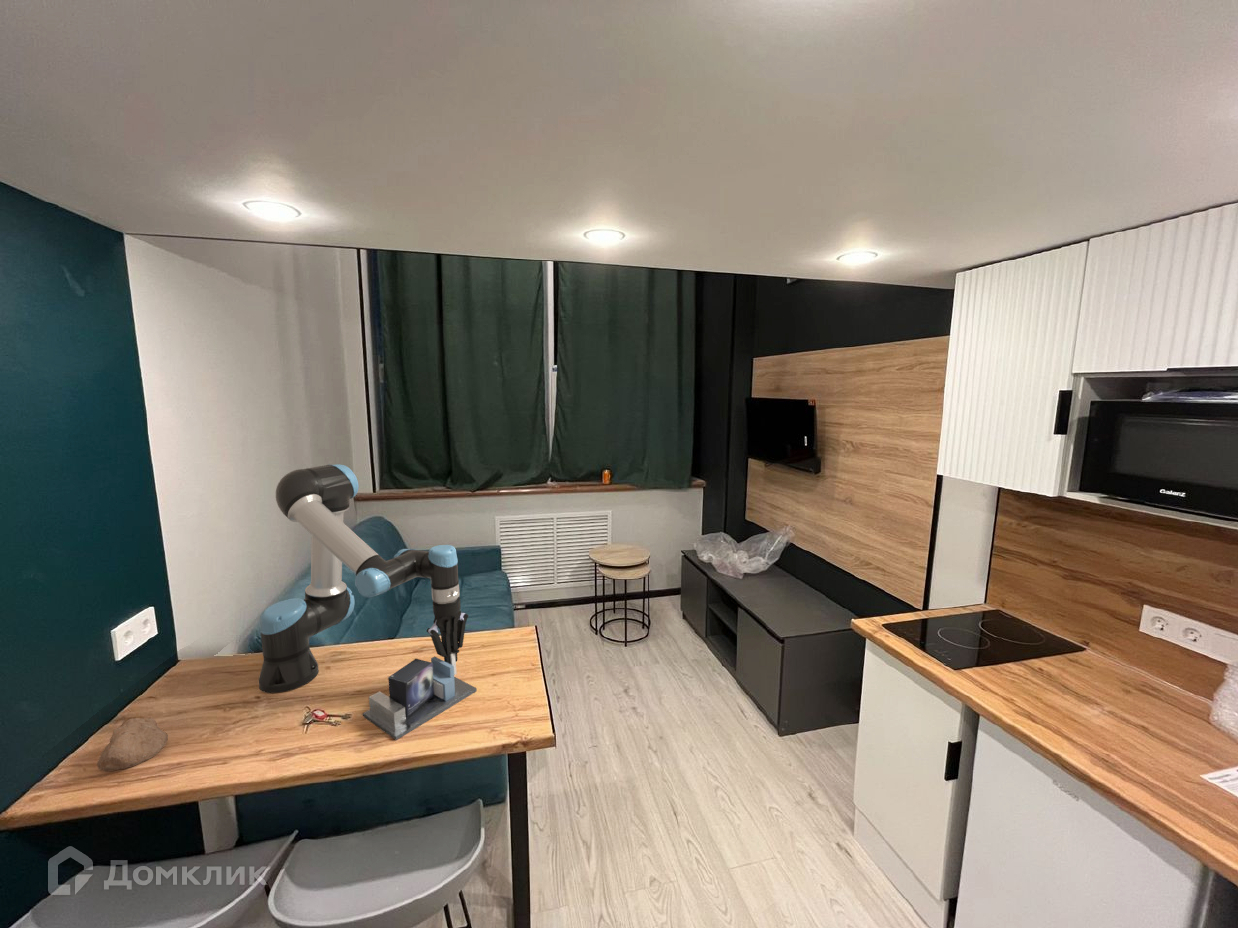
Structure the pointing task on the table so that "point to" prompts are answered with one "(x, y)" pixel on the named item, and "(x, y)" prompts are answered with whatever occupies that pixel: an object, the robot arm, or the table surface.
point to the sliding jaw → (443, 679)
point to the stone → (132, 744)
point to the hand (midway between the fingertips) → (451, 673)
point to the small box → (412, 685)
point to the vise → (394, 719)
